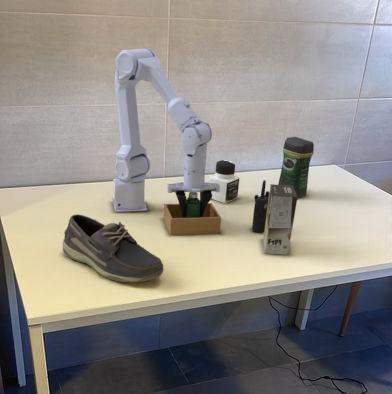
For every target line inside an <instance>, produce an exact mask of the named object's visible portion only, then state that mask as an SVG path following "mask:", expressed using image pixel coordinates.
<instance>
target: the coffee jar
mask: <svg viewBox="0 0 392 394" xmlns="http://www.w3.org/2000/svg"><path fill="white" fill-rule="evenodd" d="M314 148H315V144H314V142H313V141H311V140H307V139H304V138H302V137H298V136H291V137H287V138H285V141H284V144H283V147H282V152H283V153H282V154H283V159H282V165H281V170H280V174H279V179H278V184H277V185H291V186H294V189H295V191H296V194H297V197H298V198H297V199H300V198H304V197H305V196H307V194H308V193H307V192H308V185H309V184H308V183H309V182H308V181H309V172H310V165H311V160H312V157H313V156H314V152H315V149H314Z"/></svg>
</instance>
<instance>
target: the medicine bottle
mask: <svg viewBox="0 0 392 394" xmlns="http://www.w3.org/2000/svg"><path fill="white" fill-rule="evenodd" d="M235 172H236V163H235V162H234V161H232V160H227V159H224V160H219V161H217V162H216V163H215V172H214V173H215V174H214V175H210V176H209V177H208V183H218V184H219V185H220V192H215V191H212V192H211V193H212V198H211V200H212V201H216V202H220V203H223V204H228V203H230V202H232V201H234V200H236V199H238V196H239V188H240V187H239V186H240V180H241V179H240V176H236V175H235Z"/></svg>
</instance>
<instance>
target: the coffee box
mask: <svg viewBox="0 0 392 394" xmlns="http://www.w3.org/2000/svg"><path fill="white" fill-rule="evenodd" d="M298 199H299V198H298V197H297V194H296V191H295V189H294V186H291V185H278V184H272V183H271V184H270V185H269V200H268V207H267V215H266V222H265V230H264V231H263V238H262V242H263V249H264V253H265V254H270V255H272V254H273V255H284V256H285V255H286V256H287V255H288V254H289V251H290V245H291V244H290V243H291V239H292V234H293V228H294V221H295V216H296V215H295V214H296V209H297V203H298Z"/></svg>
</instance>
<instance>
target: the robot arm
mask: <svg viewBox="0 0 392 394" xmlns="http://www.w3.org/2000/svg"><path fill="white" fill-rule="evenodd" d="M114 65H115V72H114V78H113V80H114V81H113V82H114V92H115V101H116V108H117V109H116V111H117V119H118V127H119V137H120V147H119V149H118V150H117V152H116V154H115V163H114V172H115V174H116V177H117V178H113V180H112V193H113V194H112V195H113V196H112V204H113V208H114V211H115V212H116V213H119V212H121V213H122V212H123V213H124V212H148V208H147V205H146V203H145V197H146V196H145V195H146V194H145V192H146V191H145V190H146V184H145V183H146V178H147V173H149V172H150V170H151V161H150V159H149V157H148V153H147V148H145V147H144V146H143V145H142V144H141V136H140V124H139V123H140V122H139V114H138V103H137V94H136V87H137V85H138V84H139V82H140V81H145V82H148V83H149V84H150V85H151V86H152V87H153V89H154V90H155V91H156V92H157V94H158V95H159V96H160V97H161V99H162V100H163V101H164V102H165V104H166V105H167V114H168V115H169V116H170V118H171V119H172V121H173V122H174V124H175V126H177V128H178V130H179V131H180V132H181V134H180V139H181V142H182V144H183V146H184V148H183V150H184V163H183V164H184V166H183V181H181V182H175V183H167V185H166V191H167V193H168V194H172V193H175V196H176V198H177V201H178V204H179V205H180V209H181V216H182V218H185V204H186V199H187V198H188V197H187V195H186V193H189V192H197V193H199V200H200V201H201V210H200V217H203V214H204V211H205V209H206V206H207V204H208V203H210V201H211V200H212V199H211V198H212V193H211V192H212V191H215V192H220V185H219V184H218V183H209V182H205V180H206V164H207V151H208V143H210V141H211V140H212V136H213V131H212V128H211V126H210V124H209V123H208V122H207V121H204V120H202V119H201V118H200V116H198V115H197V114H196V112H195V111H194V109H193V108H192V106H191V105H192V104H191V102H190V101H189V100H186V98H185V97H180V96H179V95H178V94H177V92H176V90H175V88H174V87H173V86H172V84H171V82H170V81H169V79H168V77H167V76H166V73H165V72H164V71H163V69H162V67H161V60H160V59H159V58H158V57H157V56H156V54H155V52H154V51H153V49H151V48H149V47H143V48H136V49H123V50H122V51H121V50H120V52H119V54H118V55H117V56H116V57H115V58H114Z"/></svg>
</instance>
